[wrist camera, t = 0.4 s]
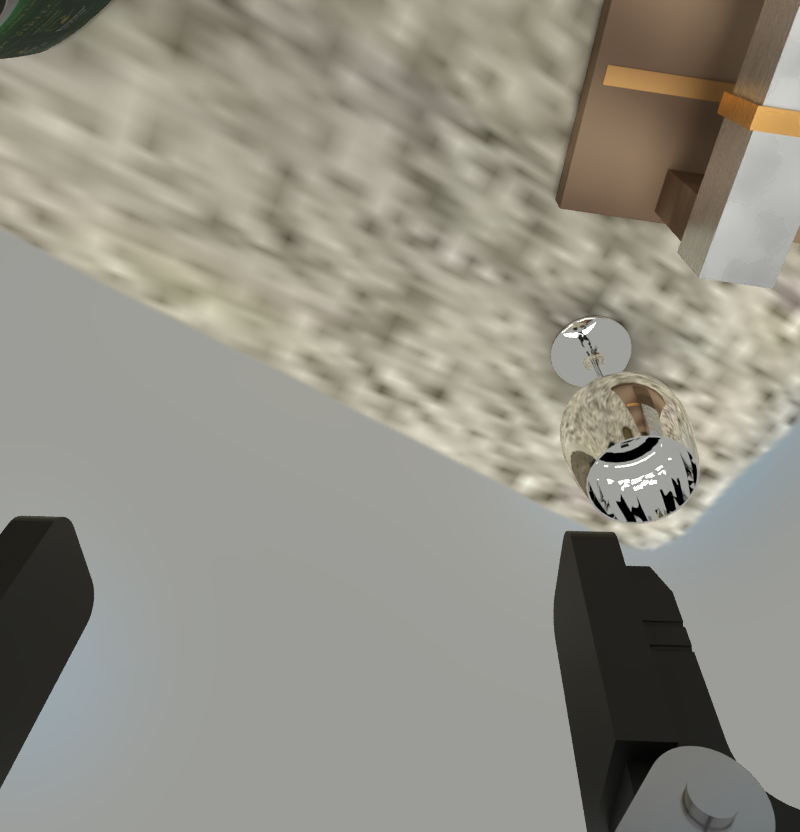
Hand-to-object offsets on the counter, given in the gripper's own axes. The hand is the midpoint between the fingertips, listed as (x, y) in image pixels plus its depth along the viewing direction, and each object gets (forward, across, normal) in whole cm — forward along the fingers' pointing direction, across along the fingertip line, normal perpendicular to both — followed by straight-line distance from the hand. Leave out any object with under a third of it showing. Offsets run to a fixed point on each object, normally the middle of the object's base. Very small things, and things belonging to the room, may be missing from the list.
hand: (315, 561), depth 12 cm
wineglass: (+28, -11, +11) cm, 32 cm away
